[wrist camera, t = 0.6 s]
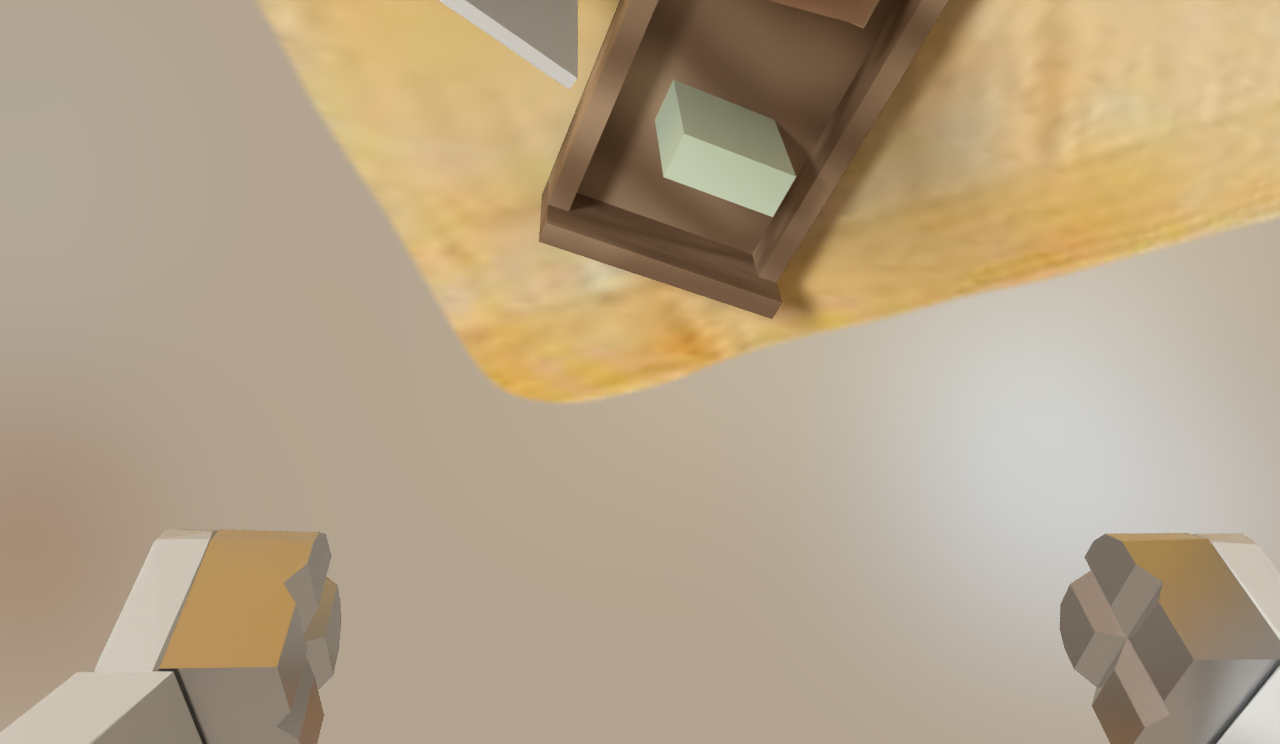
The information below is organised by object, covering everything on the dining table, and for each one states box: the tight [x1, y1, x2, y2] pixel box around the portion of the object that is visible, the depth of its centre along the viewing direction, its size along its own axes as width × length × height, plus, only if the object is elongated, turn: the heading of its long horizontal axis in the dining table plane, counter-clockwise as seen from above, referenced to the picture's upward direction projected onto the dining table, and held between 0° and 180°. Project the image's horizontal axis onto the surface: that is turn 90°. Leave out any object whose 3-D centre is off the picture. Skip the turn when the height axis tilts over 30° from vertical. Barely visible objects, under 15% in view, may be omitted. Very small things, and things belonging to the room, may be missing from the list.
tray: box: [539, 0, 949, 319], centre depth 48 cm, size 21×14×5 cm, turn 157°
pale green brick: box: [655, 80, 796, 217], centre depth 48 cm, size 2×6×6 cm, turn 67°
